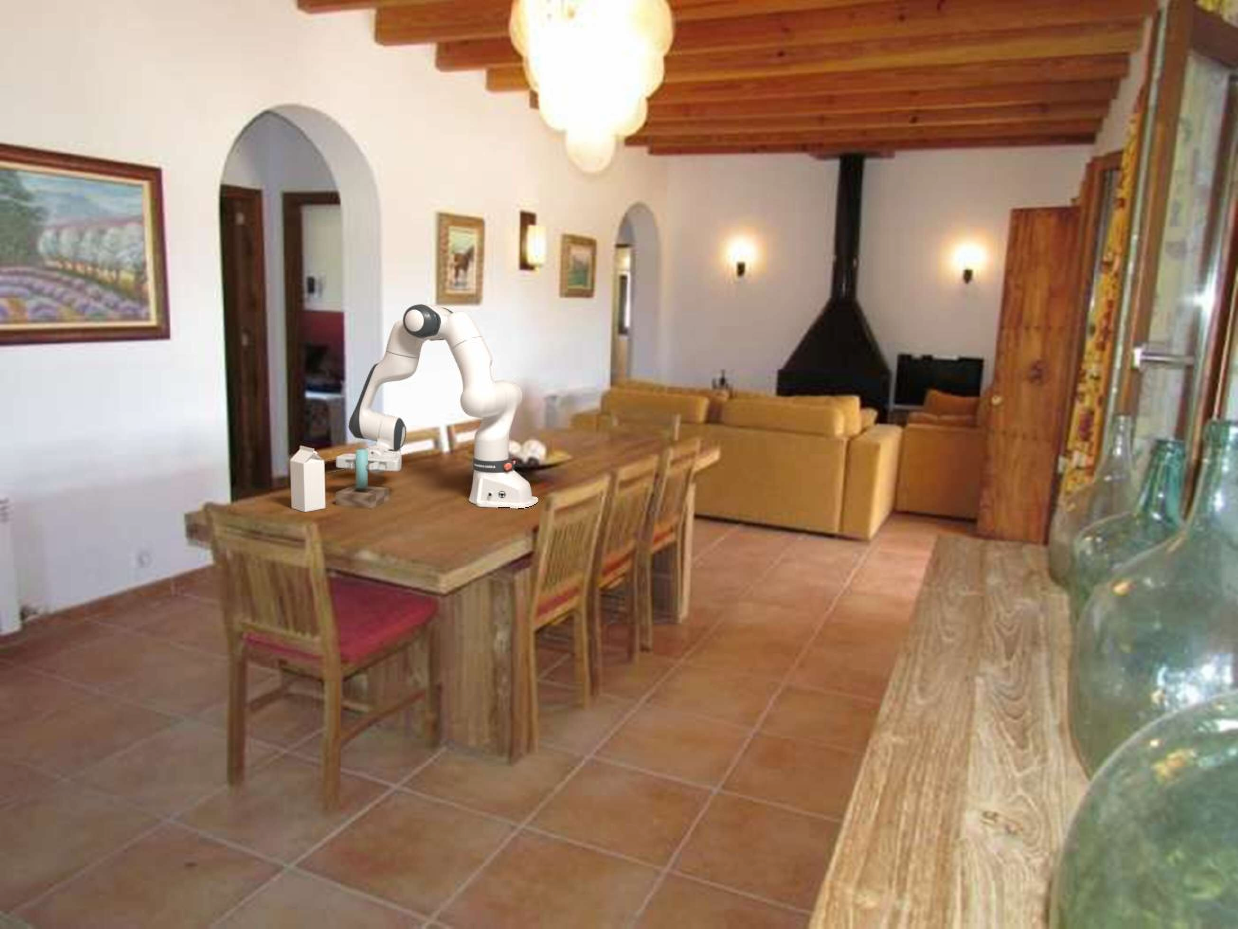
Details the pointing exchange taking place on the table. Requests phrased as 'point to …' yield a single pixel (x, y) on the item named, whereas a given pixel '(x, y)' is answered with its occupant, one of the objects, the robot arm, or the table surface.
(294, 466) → the milk carton
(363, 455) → the peg
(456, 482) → the table surface
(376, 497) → the socket block
